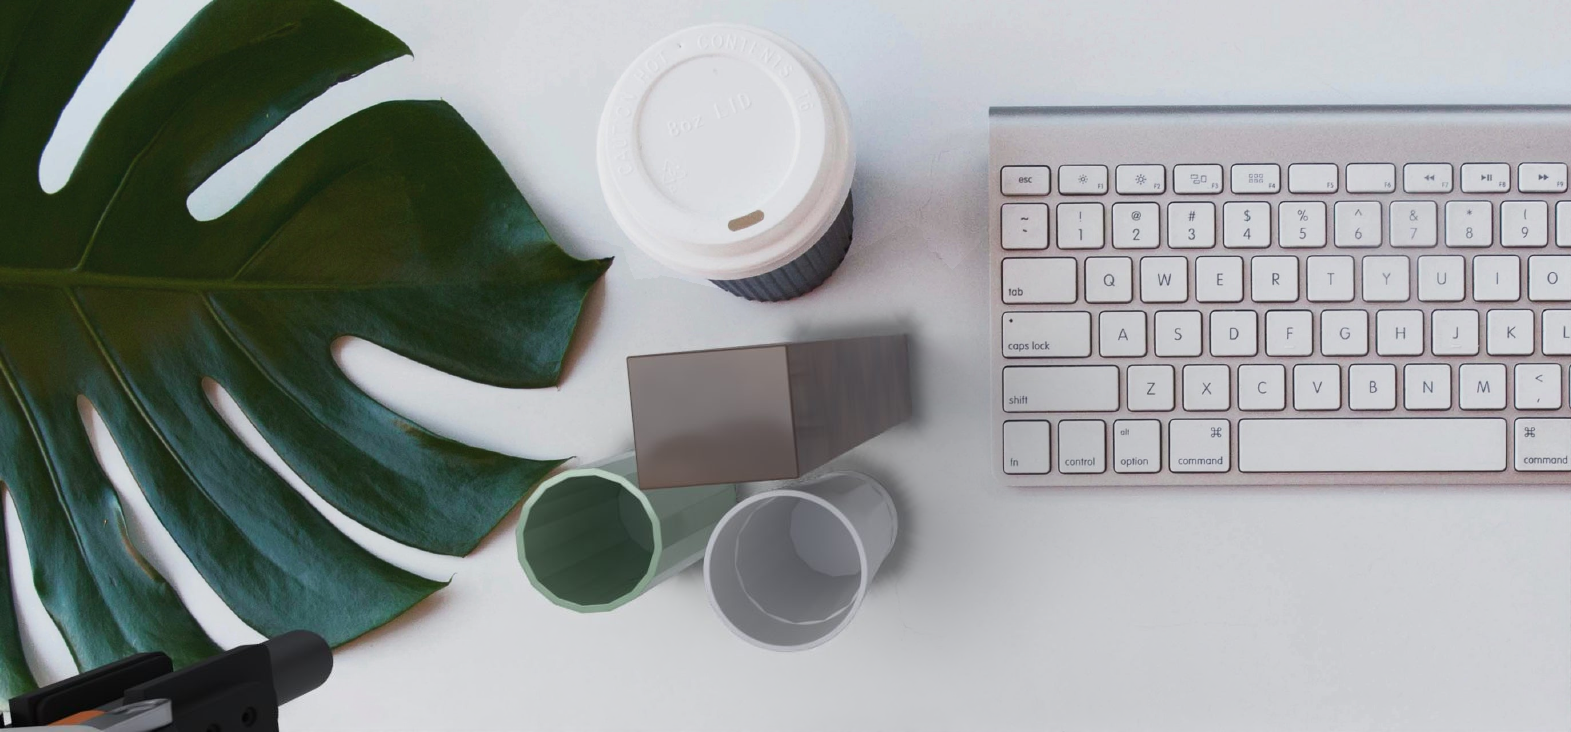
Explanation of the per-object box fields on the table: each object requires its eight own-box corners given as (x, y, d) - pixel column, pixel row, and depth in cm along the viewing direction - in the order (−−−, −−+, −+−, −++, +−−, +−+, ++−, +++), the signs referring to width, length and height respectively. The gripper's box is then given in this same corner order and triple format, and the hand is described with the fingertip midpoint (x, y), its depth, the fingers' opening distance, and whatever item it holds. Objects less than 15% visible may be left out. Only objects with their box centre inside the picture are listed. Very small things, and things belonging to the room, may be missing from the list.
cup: (779, 590, 64) (705, 653, 52) (776, 457, 64) (700, 490, 52) (913, 588, 64) (869, 651, 52) (910, 455, 64) (865, 488, 52)
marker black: (340, 689, 34) (68, 825, 25) (274, 694, 34) (-21, 831, 25) (332, 624, 34) (57, 737, 25) (266, 629, 34) (-33, 744, 25)
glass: (742, 557, 64) (668, 607, 53) (622, 565, 64) (523, 618, 53) (731, 437, 64) (654, 463, 53) (610, 446, 64) (508, 474, 53)
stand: (913, 416, 64) (799, 478, 40) (812, 424, 64) (638, 491, 40) (906, 332, 63) (786, 344, 39) (805, 340, 64) (624, 356, 40)
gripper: (-1705, 1627, 13) (-42, 846, 31) (-370, 1537, 13) (506, 806, 31) (-1845, 1013, 12) (-77, 590, 31) (-468, 913, 12) (478, 549, 31)
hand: (211, 701), depth 31 cm, fingers closed on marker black, 2 cm apart
